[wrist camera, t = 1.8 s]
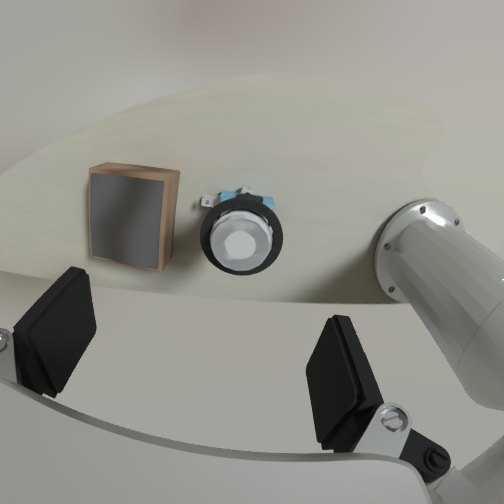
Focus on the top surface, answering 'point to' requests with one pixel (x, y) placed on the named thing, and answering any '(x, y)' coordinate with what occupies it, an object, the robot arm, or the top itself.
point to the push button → (241, 232)
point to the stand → (132, 214)
